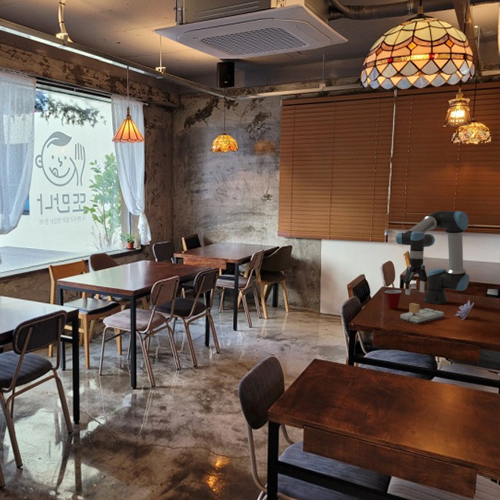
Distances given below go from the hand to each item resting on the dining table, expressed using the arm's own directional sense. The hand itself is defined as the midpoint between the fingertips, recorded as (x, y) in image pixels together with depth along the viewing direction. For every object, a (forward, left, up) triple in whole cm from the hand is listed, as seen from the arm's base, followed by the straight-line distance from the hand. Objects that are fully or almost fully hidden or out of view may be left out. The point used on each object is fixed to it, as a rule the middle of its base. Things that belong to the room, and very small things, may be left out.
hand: (414, 293), depth 271 cm
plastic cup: (-26, +13, -17) cm, 34 cm away
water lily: (+13, +31, -17) cm, 38 cm away
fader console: (0, +8, -17) cm, 19 cm away
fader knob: (0, 0, -15) cm, 15 cm away
